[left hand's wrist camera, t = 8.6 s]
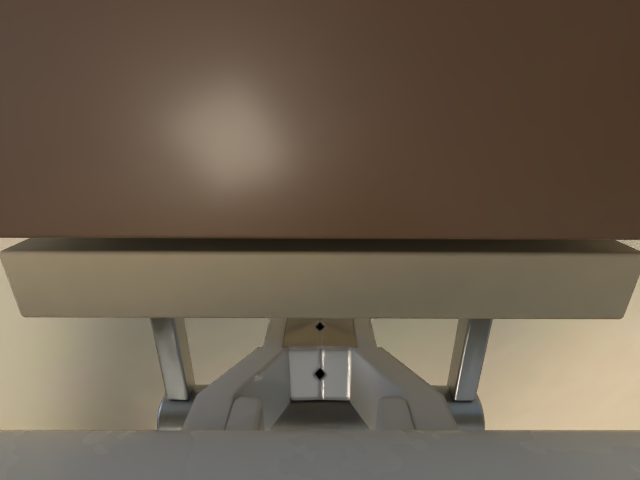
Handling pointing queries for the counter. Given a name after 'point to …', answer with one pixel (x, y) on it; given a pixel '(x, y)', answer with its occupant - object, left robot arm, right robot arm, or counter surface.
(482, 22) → the cabinet
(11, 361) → the counter surface
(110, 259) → the drawer
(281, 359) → the left robot arm
